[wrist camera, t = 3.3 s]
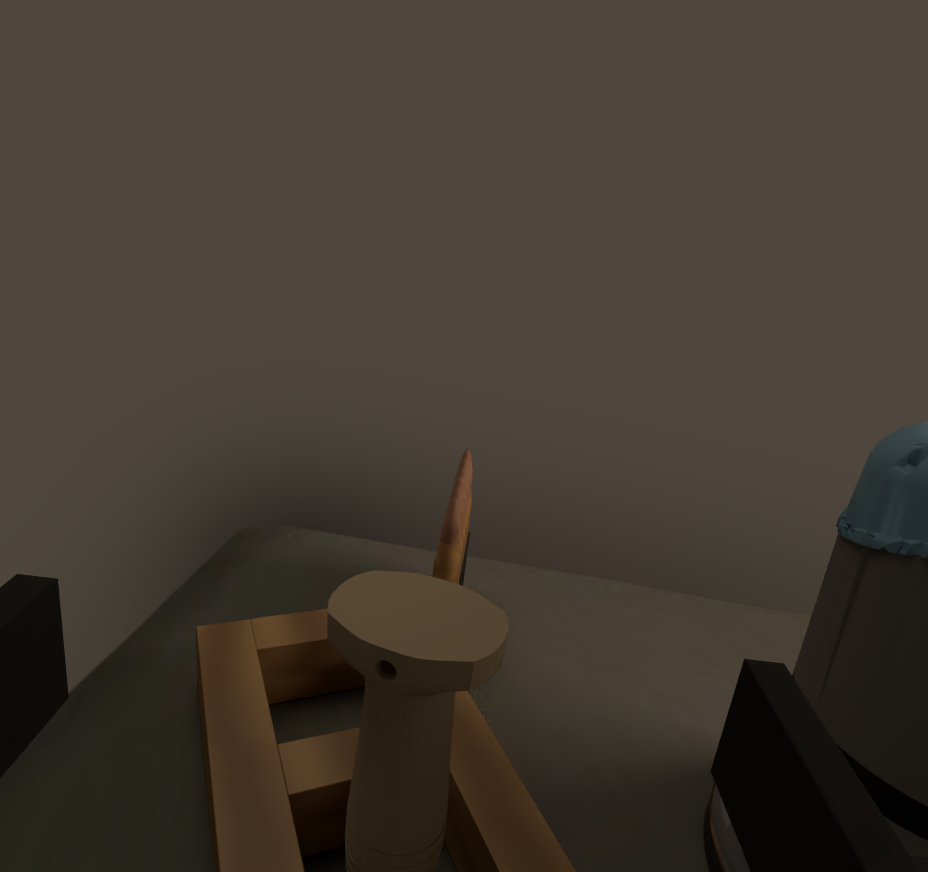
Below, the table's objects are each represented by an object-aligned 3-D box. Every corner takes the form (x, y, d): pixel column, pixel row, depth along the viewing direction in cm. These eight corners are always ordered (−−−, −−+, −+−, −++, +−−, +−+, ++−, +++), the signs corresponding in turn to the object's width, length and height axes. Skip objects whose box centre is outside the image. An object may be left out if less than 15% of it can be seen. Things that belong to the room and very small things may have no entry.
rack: (406, 647, 46) (411, 596, 44) (603, 1021, 26) (623, 949, 24) (197, 682, 40) (196, 625, 39) (241, 1189, 20) (242, 1108, 19)
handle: (348, 837, 32) (370, 557, 27) (475, 894, 30) (523, 604, 25) (288, 933, 28) (302, 619, 23) (433, 1006, 26) (481, 681, 21)
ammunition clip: (447, 675, 44) (469, 506, 40) (418, 670, 44) (437, 502, 40) (462, 587, 54) (481, 446, 50) (439, 584, 54) (456, 443, 50)
